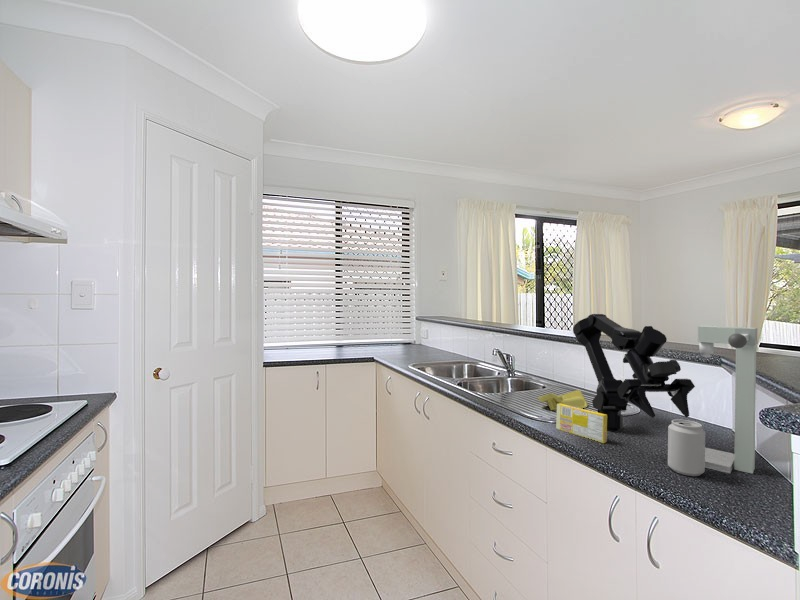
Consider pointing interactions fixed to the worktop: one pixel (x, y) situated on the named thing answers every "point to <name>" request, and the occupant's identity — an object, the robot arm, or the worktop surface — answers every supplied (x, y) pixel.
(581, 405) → the plastic component
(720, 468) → the plate
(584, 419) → the candy box
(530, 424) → the worktop surface
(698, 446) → the can
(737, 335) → the press frame
